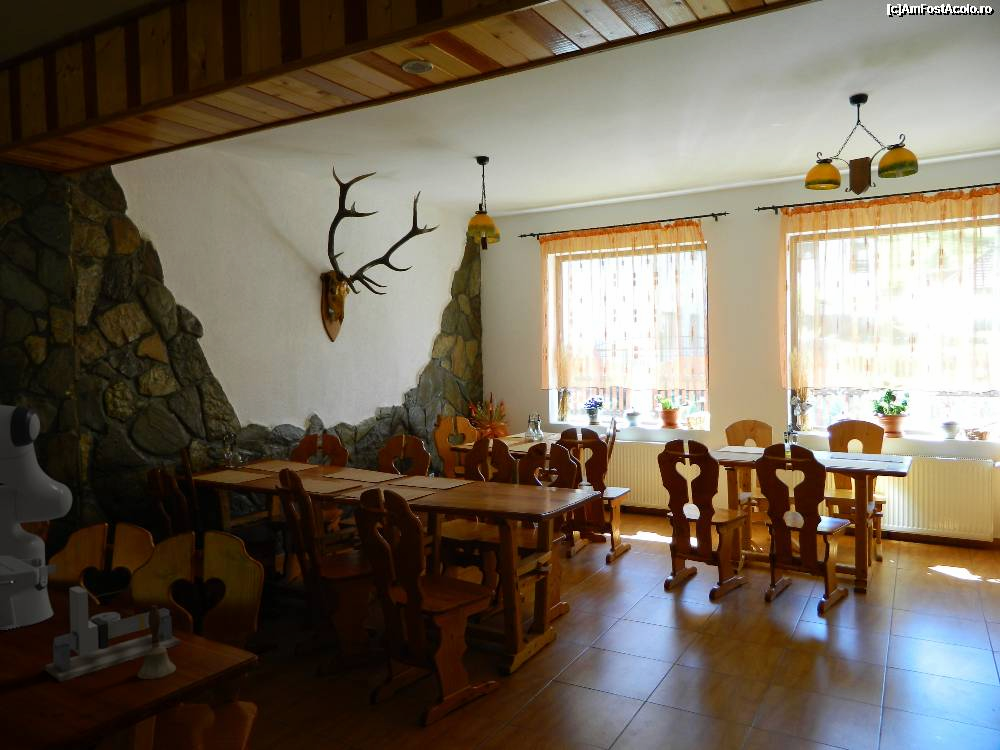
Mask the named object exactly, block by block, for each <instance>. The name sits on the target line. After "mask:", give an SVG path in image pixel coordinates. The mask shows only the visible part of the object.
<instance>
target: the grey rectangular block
mask: <svg viewBox="0 0 1000 750" xmlns="http://www.w3.org/2000/svg"><path fill="white" fill-rule="evenodd" d="M68 593H69V619H70V620H69V621H70V623H69V624H70V633H73V632H76V633H78V645H79V648H75V649H72V650H71V651H73V652H75V653H76V654H77V655H80V656H81V655H84V654H88V653H91V652H95V651H98V650H99V647H98V626H97V625H95V624H94V623H92V622H91V621H89V598H88V596H89V592H88V590H86V589H84V588H82V587H80V585H77V586H72V587H69V592H68Z"/></svg>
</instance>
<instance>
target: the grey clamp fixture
mask: <svg viewBox="0 0 1000 750" xmlns="http://www.w3.org/2000/svg"><path fill="white" fill-rule="evenodd" d="M158 610H159V613H160V619H161V620H160V627H159V638H160V639H161V640H163V641H166V640H170V639H172V636H173V631H172V629H173V628H172V627H173V626H172V625H173V624H172V616H171V615H170V614H171V613H170V609H167V608H165V607H162V608H159V609H158ZM149 613H150V611H147V612H143V613H138V614H135V615H133V616H129V617H126V618H125V617H124V618H122V619H121V618H120V620H117V621H113V622H110V623H108V640H110V639H114V638H116V637H120V636H125V635H129V634H131V633H134V632H138V631H144V630H146V629H150V626H149V619H148V618H149ZM98 642H100V635H99V628H98ZM75 648H79V645H78V633H76V632H73V633H71V632H69V633H65V634H62V635H58V636H55V637H54V641H53V643H52V650H53V663H54V667H55V668H56V669H58V670H59V671H60V672H64V671H67V670H71V665H70V658H71V651H73V650H72V649H75Z"/></svg>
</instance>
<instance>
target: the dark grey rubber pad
mask: <svg viewBox="0 0 1000 750" xmlns="http://www.w3.org/2000/svg"><path fill="white" fill-rule="evenodd" d="M91 622H92V623H94V624H95V625H97V626H98V628H99V635H100V642H98V649H105V648H108V647H109V639H108V623H107V622H105V621H103V620H102V619H100V618H95V619H91Z"/></svg>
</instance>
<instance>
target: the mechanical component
mask: <svg viewBox="0 0 1000 750" xmlns="http://www.w3.org/2000/svg"><path fill="white" fill-rule="evenodd" d="M95 618H100V619H102V620H103V621H105V622H107V623H110V622H113V621H117V620H121V614H120V613H117V612H116V611H115V612H114V611H108V612H101V613H99V614H94V615H92V616H91V617H89V618H88V620H89V621H91V619H95Z"/></svg>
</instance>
